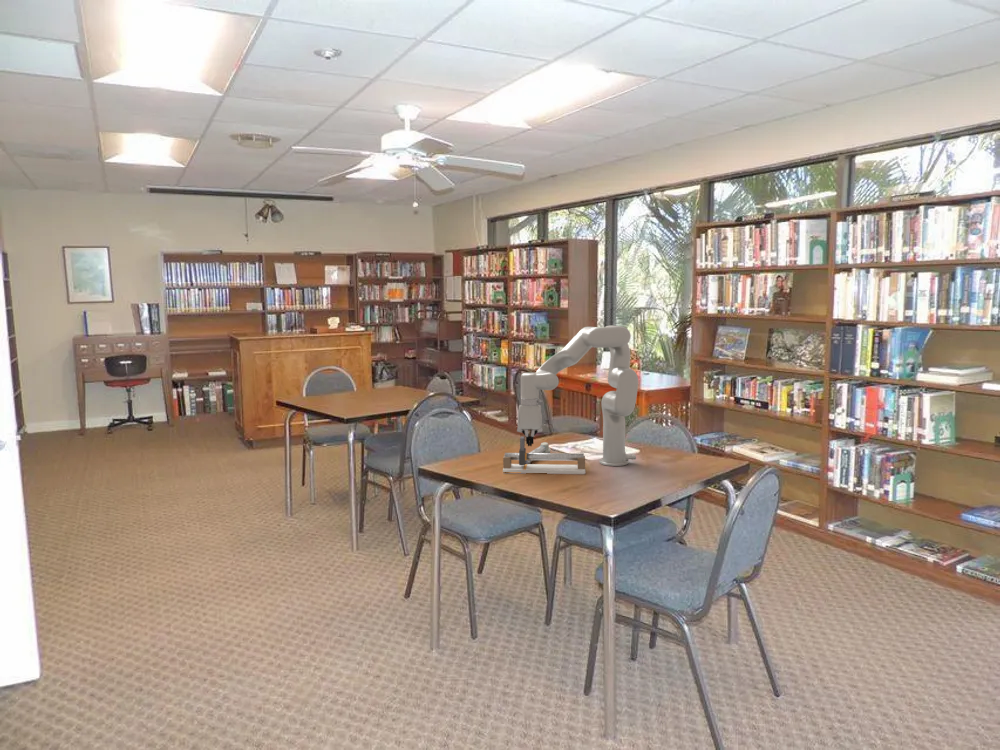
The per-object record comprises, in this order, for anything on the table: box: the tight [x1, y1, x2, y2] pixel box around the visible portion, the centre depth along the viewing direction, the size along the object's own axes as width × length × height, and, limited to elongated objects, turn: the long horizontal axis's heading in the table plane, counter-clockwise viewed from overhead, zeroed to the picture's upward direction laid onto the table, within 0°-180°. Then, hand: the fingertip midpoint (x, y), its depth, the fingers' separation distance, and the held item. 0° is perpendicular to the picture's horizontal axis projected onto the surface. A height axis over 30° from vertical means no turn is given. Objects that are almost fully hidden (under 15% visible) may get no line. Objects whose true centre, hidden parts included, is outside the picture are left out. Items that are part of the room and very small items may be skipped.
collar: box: [518, 436, 527, 465], centre depth 295 cm, size 2×6×11 cm, turn 175°
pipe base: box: [502, 454, 586, 475], centre depth 295 cm, size 34×10×6 cm, turn 85°
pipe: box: [504, 452, 585, 462], centre depth 294 cm, size 33×3×3 cm, turn 85°
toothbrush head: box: [525, 441, 552, 464], centre depth 315 cm, size 5×7×25 cm
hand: (529, 445), depth 294 cm, fingers closed
